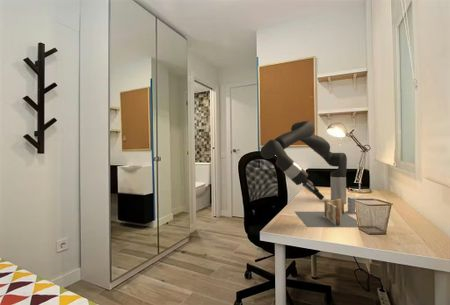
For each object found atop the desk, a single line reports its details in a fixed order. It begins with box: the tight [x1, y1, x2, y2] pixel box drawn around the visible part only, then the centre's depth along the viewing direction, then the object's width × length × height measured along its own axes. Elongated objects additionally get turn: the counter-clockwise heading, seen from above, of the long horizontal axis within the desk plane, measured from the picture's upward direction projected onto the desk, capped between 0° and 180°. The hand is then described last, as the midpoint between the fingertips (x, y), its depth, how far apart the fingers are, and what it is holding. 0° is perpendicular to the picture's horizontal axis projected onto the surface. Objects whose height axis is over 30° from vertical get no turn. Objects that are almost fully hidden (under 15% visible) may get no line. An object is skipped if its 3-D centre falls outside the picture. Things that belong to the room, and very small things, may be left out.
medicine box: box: [347, 196, 366, 215], centre depth 123 cm, size 8×4×9 cm, turn 84°
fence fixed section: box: [323, 198, 345, 217], centre depth 119 cm, size 14×2×9 cm, turn 115°
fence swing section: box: [326, 202, 340, 225], centre depth 108 cm, size 13×2×8 cm, turn 177°
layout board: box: [294, 211, 359, 228], centre depth 113 cm, size 26×27×1 cm
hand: (322, 198), depth 106 cm, fingers closed
